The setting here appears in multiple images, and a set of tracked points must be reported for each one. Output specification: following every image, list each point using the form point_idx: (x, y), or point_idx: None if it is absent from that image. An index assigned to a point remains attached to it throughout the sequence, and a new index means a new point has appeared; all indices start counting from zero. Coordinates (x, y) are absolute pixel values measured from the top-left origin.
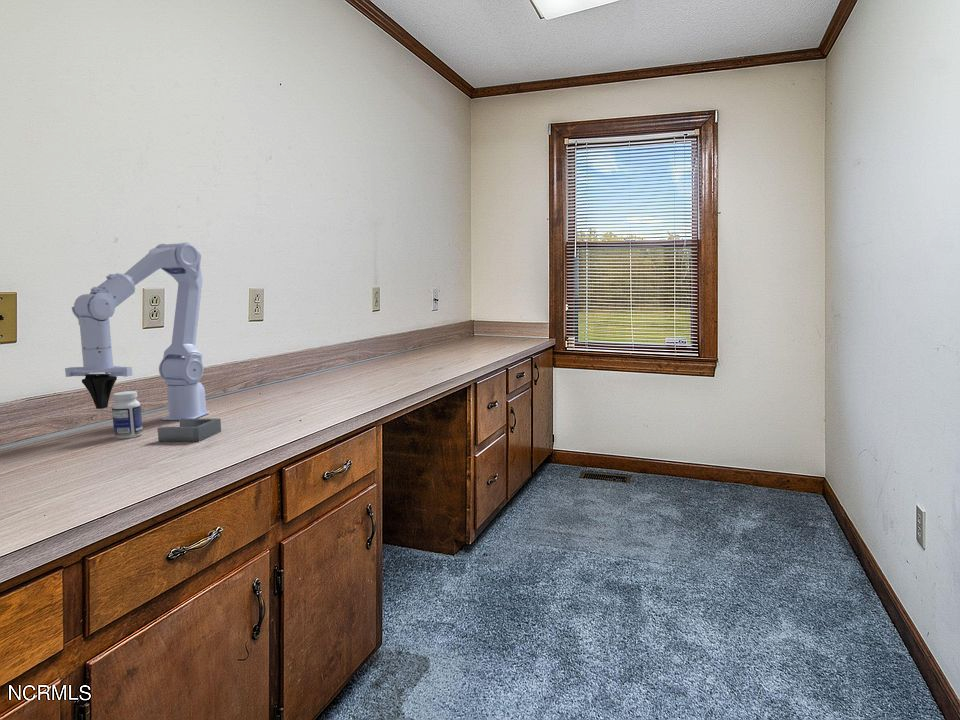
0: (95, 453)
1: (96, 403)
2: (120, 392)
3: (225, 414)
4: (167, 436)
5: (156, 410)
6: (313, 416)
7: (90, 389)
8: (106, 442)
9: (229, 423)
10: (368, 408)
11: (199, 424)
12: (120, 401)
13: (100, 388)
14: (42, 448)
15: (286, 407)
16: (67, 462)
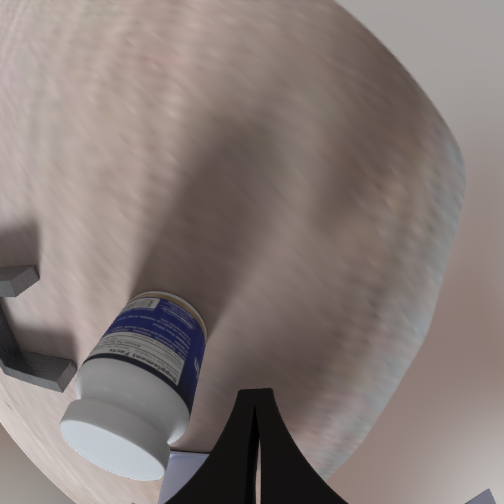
0: (91, 98)
1: (261, 406)
2: (148, 469)
3: None
4: (11, 271)
5: None
6: (19, 423)
7: (288, 475)
8: (165, 237)
9: None
10: (16, 440)
11: (29, 365)
12: (98, 396)
13: (198, 481)
14: (349, 124)
15: (100, 479)
16: (109, 9)
